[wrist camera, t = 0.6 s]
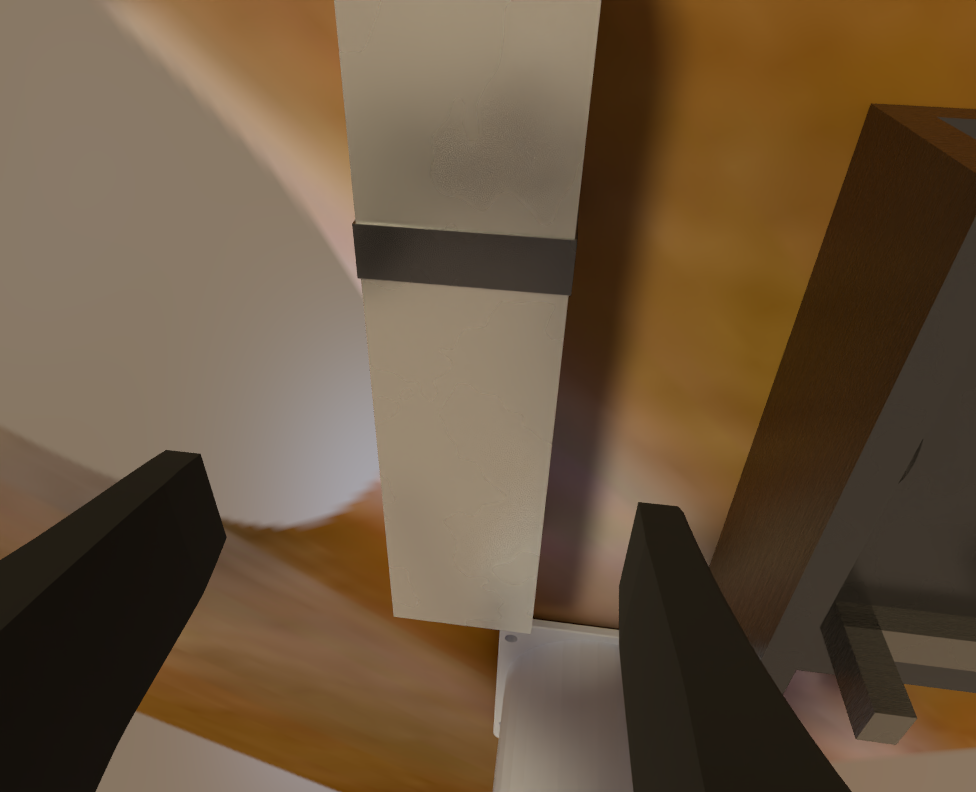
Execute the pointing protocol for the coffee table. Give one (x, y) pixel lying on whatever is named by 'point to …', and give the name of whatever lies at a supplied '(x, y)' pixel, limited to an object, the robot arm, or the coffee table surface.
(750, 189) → the coffee table surface
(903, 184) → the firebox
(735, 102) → the coffee table surface
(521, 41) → the cream rectangular block
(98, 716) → the robot arm
